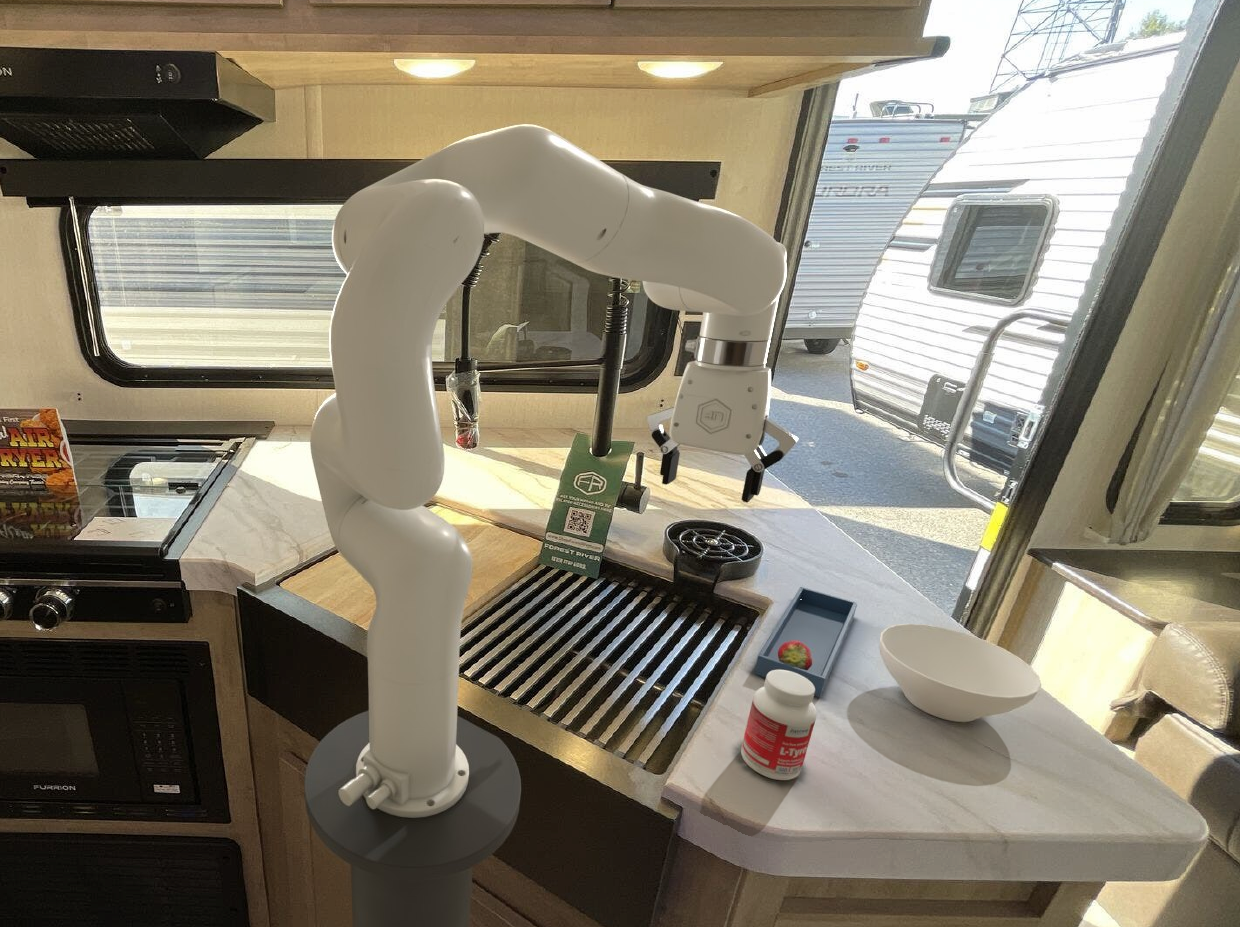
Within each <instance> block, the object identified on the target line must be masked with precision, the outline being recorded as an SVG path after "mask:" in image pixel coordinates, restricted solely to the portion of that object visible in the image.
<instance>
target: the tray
mask: <svg viewBox="0 0 1240 927" xmlns="http://www.w3.org/2000/svg"><path fill="white" fill-rule="evenodd" d="M800 599H802V600H800ZM857 607H858V602H857V601H853V600H850V599H846V598H842V597H839V596H835V595H832V594H829V593H824V592H821V591H819V590H818V591H817V590H814V589H811V588H806V587H804V586H800V587H799V588H798V590H797V592H796V593H795V595H794V597H793V598H792V599H791V602H790V603H789V605H788V606H787V607H786V610H785V611H784V613H783V614H782V616H781V618H780V619H779V621H778V622H777V624H776V626H775V627H774V629H773V631H772V632H771V634H770V635H769V637H768V639H767V640H766V642H765V644H764V646H763V647H762V649H761V650H760V652H759V653H758V655H757V658H756V659H757V660H756V663H755V667H754V671H753V674H754V675H756V676H759V677H762V678H765V679H766V676H767V674H768V673H769V672H770V671H772V670H787V671H791V672H795V673H797V674H800V675H802V676H803V677H805V678H807V679H808V680H809V681H810V682H811V683H812V684H813V685H814V687H815V693H814V697H817V698H819V699H820V698H821V696H822V694H823V691H824V689H825V687H826V684H827V682H828V680H829V677H830V674H831V672H832V670H833V667H834V665H835V663H836V661H837V658H838V656H839V653H840V651H841V649H842V647H843V644H844V642H845V639H846V637H847V634H848V632H849V630H850V627H851V625H852V622H853V621H854V617H855V613H856V610H857ZM789 641H799V642H802V643H803V644H805V645H806V646H807V647H808V648H809V650H810V652H811V657H812V666H811V667H810V668H809V669H808V670H807V671H806V670H804V669H801V668H798V667H795V666H792V665H789V664H786V663H783V662H780V661H779V658H778V650H779V648H780V647H781V646H782V645H783V644H784V643H786V642H789Z"/></svg>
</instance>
